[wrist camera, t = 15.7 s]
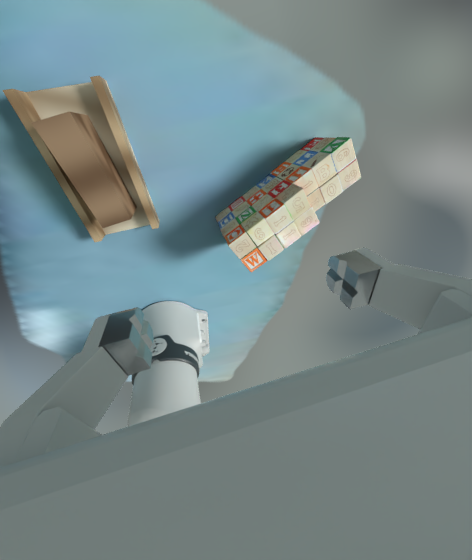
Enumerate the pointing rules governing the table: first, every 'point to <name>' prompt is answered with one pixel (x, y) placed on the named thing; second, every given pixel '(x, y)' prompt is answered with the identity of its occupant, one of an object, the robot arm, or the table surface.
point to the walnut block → (87, 166)
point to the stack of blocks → (288, 200)
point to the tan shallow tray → (111, 131)
